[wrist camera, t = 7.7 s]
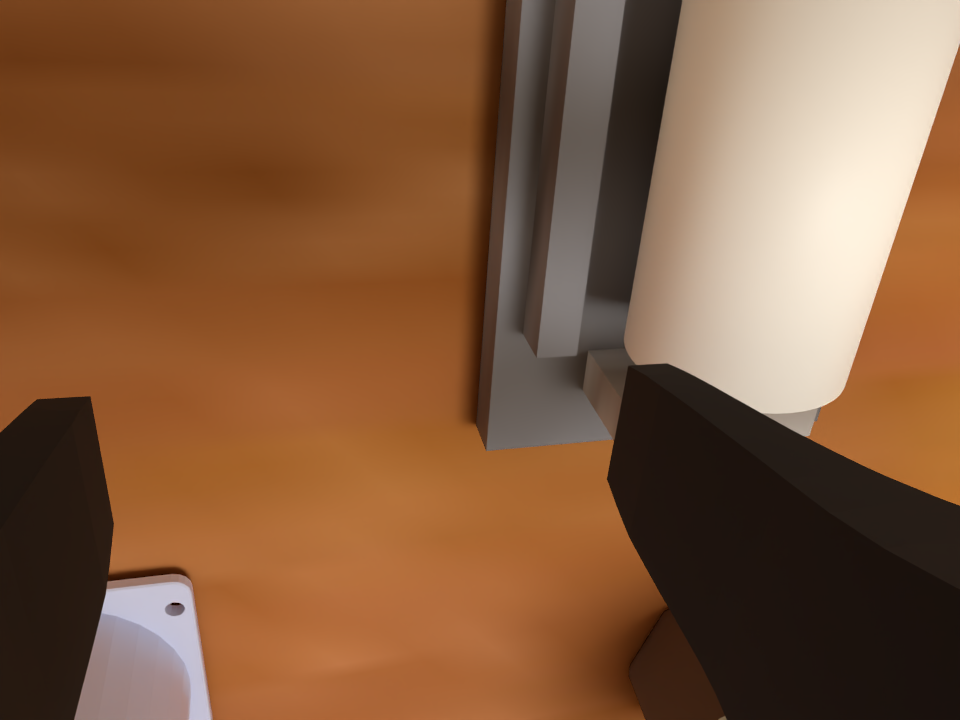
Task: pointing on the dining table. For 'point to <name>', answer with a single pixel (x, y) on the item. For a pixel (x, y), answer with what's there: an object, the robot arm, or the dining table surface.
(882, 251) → the paper roll
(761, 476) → the robot arm
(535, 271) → the roll cradle
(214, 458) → the dining table surface
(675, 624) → the beer bottle
